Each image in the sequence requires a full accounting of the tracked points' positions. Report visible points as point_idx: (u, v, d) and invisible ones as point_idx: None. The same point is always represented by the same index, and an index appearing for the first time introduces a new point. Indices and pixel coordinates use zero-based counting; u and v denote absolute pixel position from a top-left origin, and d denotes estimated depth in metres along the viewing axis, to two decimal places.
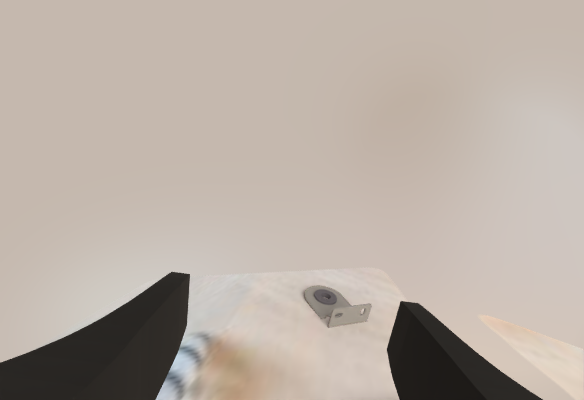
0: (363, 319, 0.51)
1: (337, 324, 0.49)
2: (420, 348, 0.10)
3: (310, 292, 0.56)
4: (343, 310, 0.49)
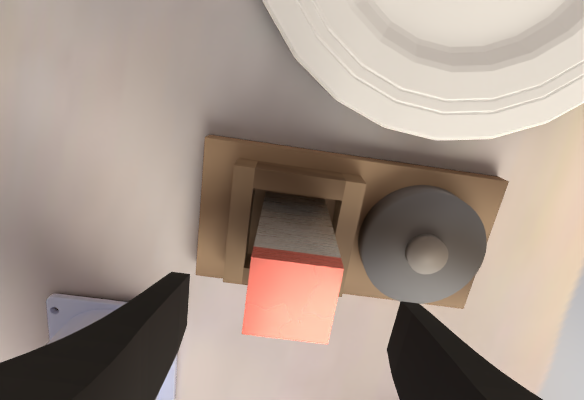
0: None
1: None
2: (420, 348, 0.10)
3: None
4: None
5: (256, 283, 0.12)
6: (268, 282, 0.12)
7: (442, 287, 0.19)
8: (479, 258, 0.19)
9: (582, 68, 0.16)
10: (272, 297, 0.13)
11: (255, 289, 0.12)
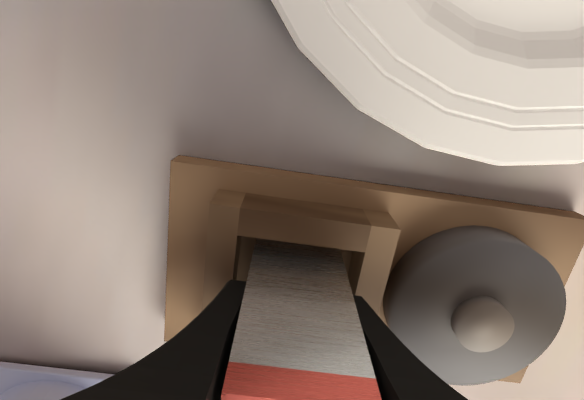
0: None
1: None
2: None
3: None
4: None
5: None
6: None
7: (500, 365, 0.14)
8: (554, 328, 0.13)
9: None
10: None
11: None
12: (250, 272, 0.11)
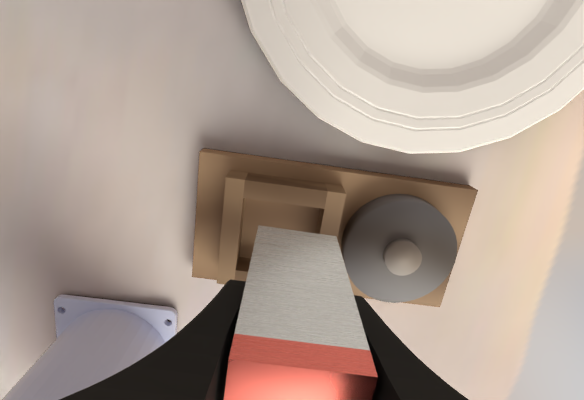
0: None
1: None
2: None
3: None
4: None
5: (237, 397, 0.08)
6: (256, 395, 0.08)
7: (418, 287, 0.21)
8: (451, 260, 0.20)
9: (539, 89, 0.18)
10: None
11: None
12: (252, 258, 0.12)
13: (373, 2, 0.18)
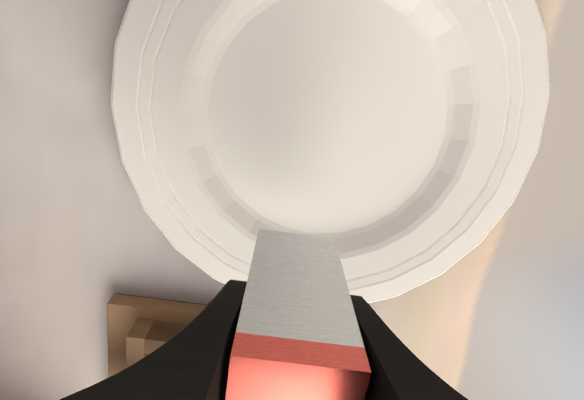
0: None
1: None
2: None
3: None
4: None
5: (239, 392, 0.08)
6: (257, 390, 0.08)
7: None
8: None
9: (420, 258, 0.19)
10: None
11: (238, 399, 0.08)
12: (253, 261, 0.12)
13: (261, 178, 0.19)
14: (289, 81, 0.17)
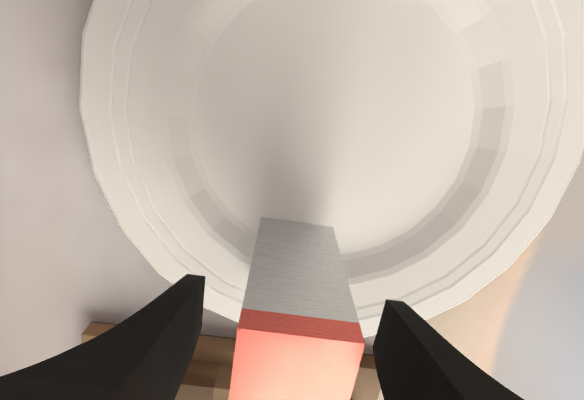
0: None
1: None
2: (402, 347, 0.10)
3: None
4: None
5: (244, 361, 0.09)
6: (261, 360, 0.09)
7: None
8: None
9: (440, 284, 0.17)
10: (266, 379, 0.09)
11: (244, 368, 0.09)
12: (256, 246, 0.13)
13: (257, 193, 0.16)
14: (289, 80, 0.15)
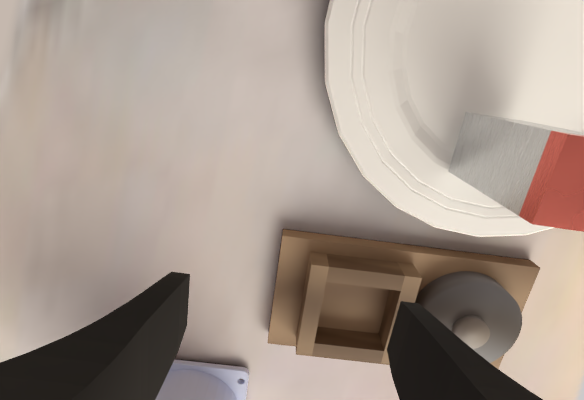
0: None
1: None
2: (419, 348, 0.10)
3: None
4: None
5: (564, 165, 0.12)
6: (577, 164, 0.12)
7: (482, 356, 0.23)
8: (515, 334, 0.22)
9: None
10: (576, 181, 0.12)
11: (561, 171, 0.12)
12: (496, 118, 0.16)
13: (450, 104, 0.19)
14: (494, 1, 0.18)
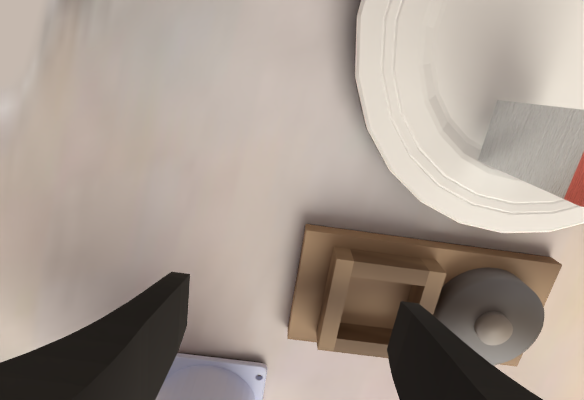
0: None
1: None
2: (419, 348, 0.10)
3: None
4: None
5: None
6: None
7: (504, 353, 0.23)
8: (537, 330, 0.22)
9: None
10: None
11: None
12: (533, 104, 0.16)
13: (477, 99, 0.19)
14: None
